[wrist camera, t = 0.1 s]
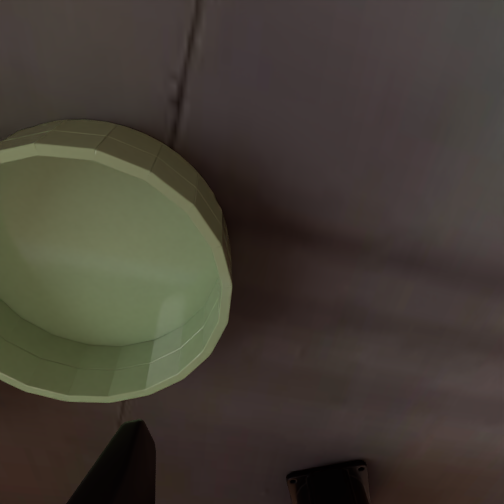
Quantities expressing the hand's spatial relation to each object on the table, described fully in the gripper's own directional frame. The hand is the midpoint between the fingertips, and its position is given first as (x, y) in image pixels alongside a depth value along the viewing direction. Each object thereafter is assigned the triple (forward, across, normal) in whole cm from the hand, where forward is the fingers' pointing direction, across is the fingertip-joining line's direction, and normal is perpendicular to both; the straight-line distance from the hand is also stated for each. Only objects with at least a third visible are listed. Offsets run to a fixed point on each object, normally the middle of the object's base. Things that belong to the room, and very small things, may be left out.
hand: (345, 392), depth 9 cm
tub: (+15, +10, +2) cm, 18 cm away
